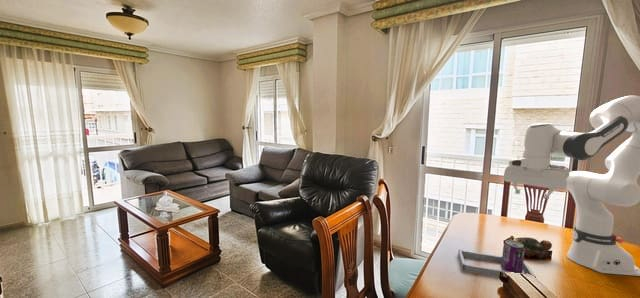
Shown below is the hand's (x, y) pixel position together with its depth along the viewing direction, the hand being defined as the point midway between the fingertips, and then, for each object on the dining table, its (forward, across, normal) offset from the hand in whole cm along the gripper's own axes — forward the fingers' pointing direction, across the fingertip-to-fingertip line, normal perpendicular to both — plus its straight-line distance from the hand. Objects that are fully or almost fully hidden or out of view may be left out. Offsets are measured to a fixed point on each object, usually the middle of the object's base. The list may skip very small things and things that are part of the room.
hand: (531, 196), depth 111 cm
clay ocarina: (+31, -1, -13) cm, 34 cm away
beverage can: (+31, +3, +8) cm, 32 cm away
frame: (+31, +9, +11) cm, 34 cm away
